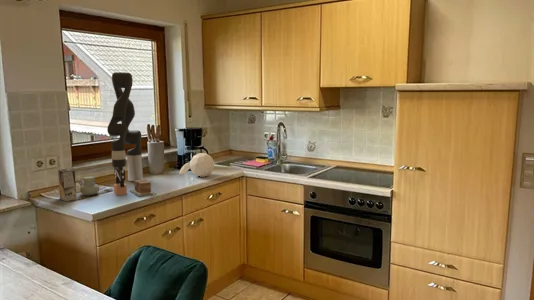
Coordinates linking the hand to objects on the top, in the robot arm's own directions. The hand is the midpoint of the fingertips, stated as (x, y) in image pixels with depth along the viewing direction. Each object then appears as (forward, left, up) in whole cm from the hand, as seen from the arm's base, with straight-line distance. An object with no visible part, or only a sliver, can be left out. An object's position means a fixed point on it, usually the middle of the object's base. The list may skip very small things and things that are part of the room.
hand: (120, 185), depth 234 cm
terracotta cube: (0, 0, -5) cm, 5 cm away
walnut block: (+6, +11, -4) cm, 13 cm away
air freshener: (-8, -15, -5) cm, 18 cm away
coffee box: (-5, -27, -5) cm, 28 cm away
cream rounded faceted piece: (-20, +59, -5) cm, 62 cm away
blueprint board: (+6, +11, -5) cm, 13 cm away
